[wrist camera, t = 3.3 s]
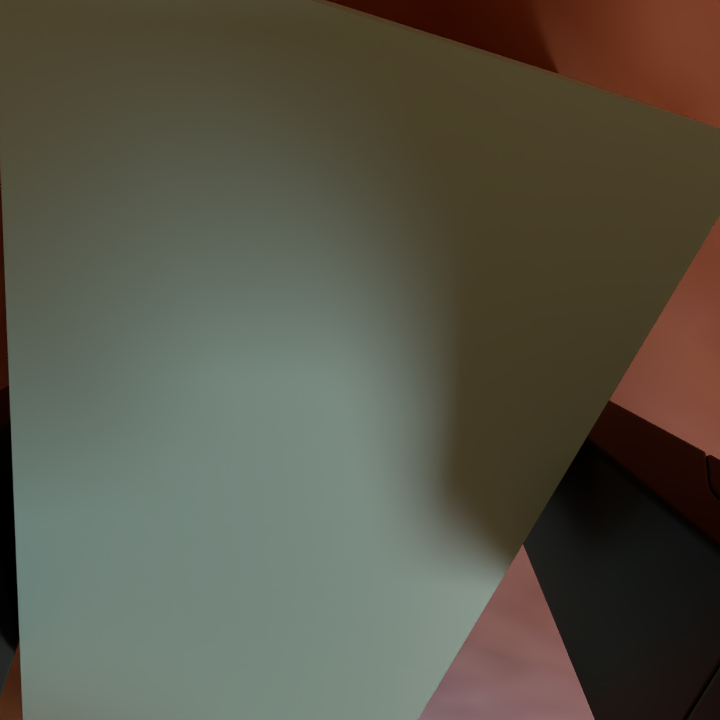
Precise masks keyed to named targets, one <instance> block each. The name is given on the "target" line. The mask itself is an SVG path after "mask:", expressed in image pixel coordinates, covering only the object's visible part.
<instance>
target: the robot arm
mask: <svg viewBox="0 0 720 720" xmlns="http://www.w3.org/2000/svg"><path fill="white" fill-rule="evenodd" d="M523 545H524V548H525V550H526V552H527V555H528V557H529V560H530V562H531V565H532V567H533V570H534V572H535V574H536V577H537V579H538V582H539V584H540V587H541V589H542V592H543V594H544V596H545V599H546V601H547V604H548V606H549V609H550V611H551V614H552V616H553V618H554V621H555V623H556V626H557V628H558V631H559V633H560V636H561V638H562V640H563V643H564V645H565V648H566V650H567V653H568V655H569V658H570V660H571V662H572V665H573V667H574V670H575V672H576V675H577V677H578V680H579V682H580V684H581V687H582V689H583V692H584V694H585V697H586V699H587V702H588V704H589V706H590V709H591V711H592V714H593V716H594V719H595V720H720V460H719V459H717V458H715V457H714V456H712V455H708V456H706V453H705V452H704V451H702V450H700V449H699V448H697V447H695V446H693V445H691V444H689V443H687V442H686V441H684V440H682V439H680V438H678V437H676V436H674V435H673V434H671V433H669V432H667V431H665V430H663V429H661V428H660V427H658V426H656V425H654V424H652V423H650V422H648V421H647V420H645V419H643V418H641V417H639V416H637V415H635V414H634V413H632V412H630V411H628V410H626V409H624V408H623V407H621V406H619V405H617V404H615V403H613V402H611V401H610V400H609V401H608V402H607V404H606V406H605V407H604V409H603V411H602V412H601V414H600V416H599V417H598V419H597V421H596V423H595V424H594V426H593V428H592V429H591V431H590V433H589V434H588V436H587V438H586V439H585V441H584V443H583V444H582V446H581V448H580V449H579V451H578V453H577V454H576V456H575V458H574V459H573V461H572V463H571V464H570V466H569V468H568V469H567V471H566V473H565V474H564V476H563V478H562V479H561V481H560V483H559V484H558V486H557V488H556V489H555V491H554V493H553V494H552V496H551V498H550V499H549V501H548V503H547V504H546V506H545V508H544V509H543V511H542V513H541V514H540V516H539V518H538V519H537V521H536V523H535V524H534V526H533V528H532V529H531V531H530V533H529V534H528V536H527V538H526V539H525V541H524V543H523ZM19 641H20V638H19V614H18V589H17V564H16V540H15V515H14V490H13V466H12V441H11V416H10V392H9V386H7V387H5V388H4V389H2V390H0V696H1V693H2V690H3V687H4V684H5V682H6V679H7V676H8V673H9V670H10V667H11V664H12V661H13V658H14V655H15V652H16V649H17V646H18V644H19Z"/></svg>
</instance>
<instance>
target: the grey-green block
mask: <svg viewBox="0 0 720 720" xmlns="http://www.w3.org/2000/svg"><path fill="white" fill-rule="evenodd" d="M0 170H1V194H2V219H3V244H4V268H5V293H6V318H7V342H8V367H9V392H10V416H11V441H12V466H13V490H14V515H15V540H16V564H17V589H18V614H19V638H20V663H21V688H22V712H23V720H418V718H419V717H420V715H421V713H422V712H423V710H424V708H425V707H426V705H427V703H428V702H429V700H430V698H431V697H432V695H433V693H434V692H435V690H436V688H437V687H438V685H439V683H440V681H441V680H442V678H443V676H444V675H445V673H446V671H447V670H448V668H449V666H450V665H451V663H452V661H453V660H454V658H455V656H456V655H457V653H458V651H459V650H460V648H461V646H462V645H463V643H464V641H465V640H466V638H467V636H468V635H469V633H470V631H471V630H472V628H473V626H474V625H475V623H476V621H477V620H478V618H479V616H480V615H481V613H482V611H483V610H484V608H485V606H486V605H487V603H488V601H489V600H490V598H491V596H492V595H493V593H494V591H495V590H496V588H497V586H498V585H499V583H500V581H501V580H502V578H503V576H504V575H505V573H506V571H507V570H508V568H509V566H510V565H511V563H512V561H513V560H514V558H515V556H516V555H517V553H518V551H519V549H520V548H521V546H522V544H523V543H524V541H525V539H526V538H527V536H528V534H529V533H530V531H531V529H532V528H533V526H534V524H535V523H536V521H537V519H538V518H539V516H540V514H541V513H542V511H543V509H544V508H545V506H546V504H547V503H548V501H549V499H550V498H551V496H552V494H553V493H554V491H555V489H556V488H557V486H558V484H559V483H560V481H561V479H562V478H563V476H564V474H565V473H566V471H567V469H568V468H569V466H570V464H571V463H572V461H573V459H574V458H575V456H576V454H577V453H578V451H579V449H580V448H581V446H582V444H583V443H584V441H585V439H586V438H587V436H588V434H589V433H590V431H591V429H592V428H593V426H594V424H595V423H596V421H597V419H598V417H599V416H600V414H601V412H602V411H603V409H604V407H605V406H606V404H607V402H608V401H609V399H610V397H611V396H612V394H613V392H614V391H615V389H616V387H617V386H618V384H619V382H620V381H621V379H622V377H623V376H624V374H625V372H626V371H627V369H628V367H629V366H630V364H631V362H632V361H633V359H634V357H635V356H636V354H637V352H638V351H639V349H640V347H641V346H642V344H643V342H644V341H645V339H646V337H647V336H648V334H649V332H650V331H651V329H652V327H653V326H654V324H655V322H656V321H657V319H658V317H659V316H660V314H661V312H662V311H663V309H664V307H665V306H666V304H667V302H668V301H669V299H670V297H671V296H672V294H673V292H674V291H675V289H676V287H677V285H678V284H679V282H680V280H681V279H682V277H683V275H684V274H685V272H686V270H687V269H688V267H689V265H690V264H691V262H692V260H693V259H694V257H695V255H696V254H697V252H698V250H699V249H700V247H701V245H702V244H703V242H704V240H705V239H706V237H707V235H708V234H709V232H710V230H711V229H712V227H713V225H714V224H715V222H716V220H717V219H718V217H719V215H720V128H717V127H714V126H712V125H709V124H706V123H703V122H700V121H697V120H694V119H691V118H688V117H685V116H682V115H679V114H676V113H673V112H670V111H667V110H664V109H661V108H658V107H655V106H652V105H649V104H646V103H643V102H641V101H638V100H635V99H632V98H629V97H626V96H623V95H620V94H617V93H614V92H611V91H608V90H605V89H602V88H599V87H596V86H593V85H590V84H587V83H584V82H581V81H578V80H575V79H573V78H570V77H567V76H564V75H561V74H558V73H554V72H551V71H548V70H545V69H542V68H539V67H536V66H532V65H529V64H526V63H523V62H520V61H517V60H513V59H510V58H507V57H504V56H501V55H498V54H495V53H491V52H488V51H485V50H482V49H479V48H476V47H472V46H469V45H466V44H463V43H460V42H457V41H453V40H450V39H447V38H444V37H441V36H438V35H435V34H431V33H428V32H425V31H422V30H419V29H416V28H412V27H409V26H406V25H403V24H400V23H397V22H394V21H390V20H387V19H384V18H381V17H378V16H375V15H371V14H368V13H365V12H362V11H359V10H356V9H352V8H349V7H346V6H343V5H340V4H337V3H334V2H330V1H327V0H0Z"/></svg>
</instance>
